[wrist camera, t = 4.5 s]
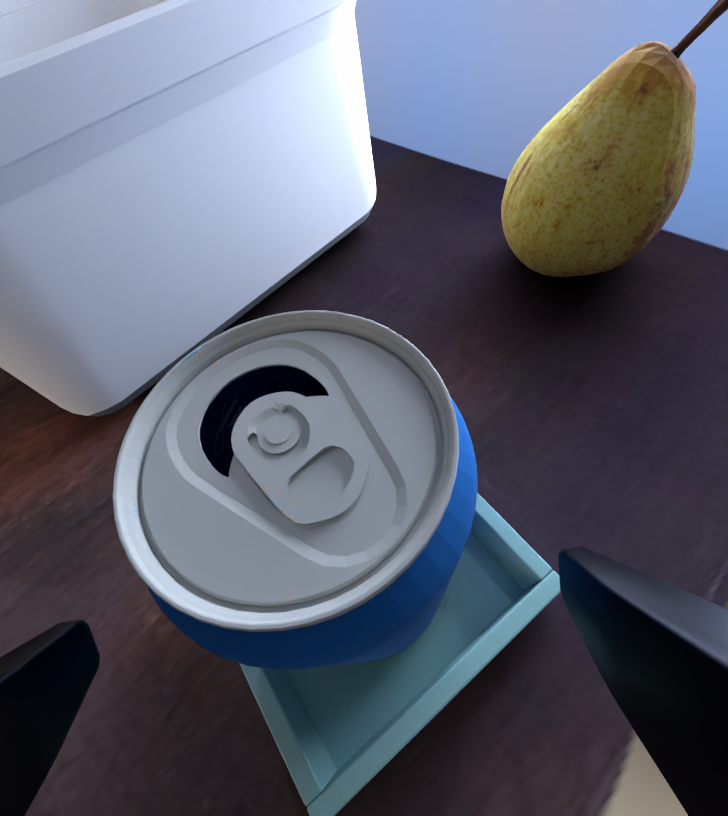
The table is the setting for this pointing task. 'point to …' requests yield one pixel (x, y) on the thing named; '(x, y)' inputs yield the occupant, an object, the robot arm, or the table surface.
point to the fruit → (606, 164)
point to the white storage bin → (165, 177)
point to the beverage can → (298, 492)
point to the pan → (403, 671)
